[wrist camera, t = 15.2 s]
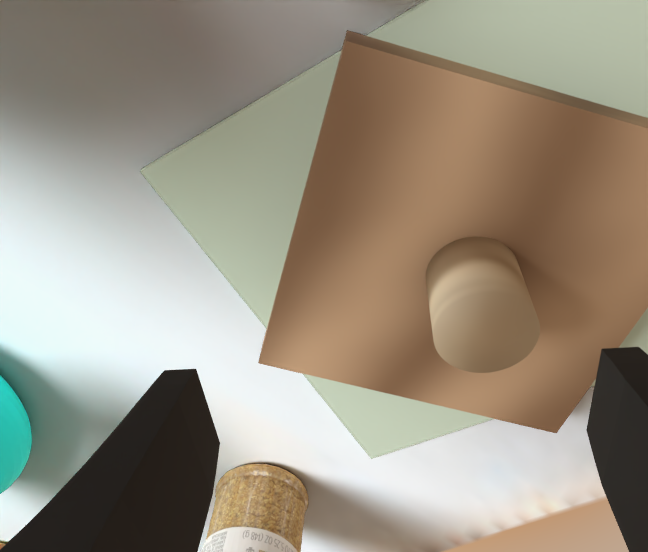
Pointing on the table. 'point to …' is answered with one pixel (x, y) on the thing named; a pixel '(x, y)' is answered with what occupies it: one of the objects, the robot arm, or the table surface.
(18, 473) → the donuts
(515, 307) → the lid
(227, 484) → the sprinkles bottle
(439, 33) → the mat
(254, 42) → the table surface
